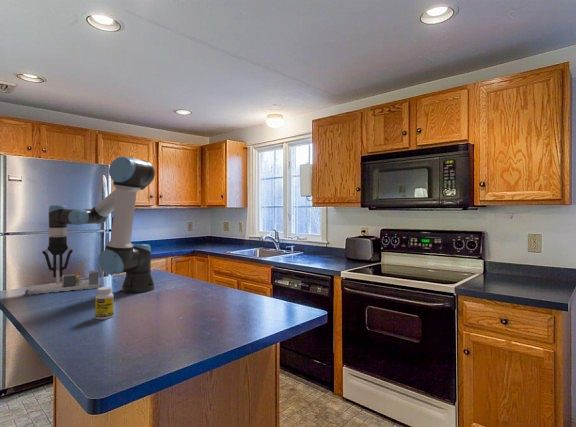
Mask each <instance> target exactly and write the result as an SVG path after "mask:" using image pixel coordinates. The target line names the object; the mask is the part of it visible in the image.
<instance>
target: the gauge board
mask: <svg viewBox="0 0 576 427" xmlns="http://www.w3.org/2000/svg"><path fill="white" fill-rule="evenodd" d="M88 277H89V279H88V280H79V282H76V285H75V286H62V282H60V284H56V282H53V283H51V282H50V283H45V284H33V285H30V287H29V289H28V291H27V294H28V296H31V295H30V294H35V295H40V294H39V293H45V294H50V293H49V292H55V293H60V292H59V291H65V292H71V291H70V290H75V291H83V289H85V290H91V289H92V290H93V289H94V288H95V289H98V288H101V287H102V284H101V281H100V279H99V271H98V269H97V270H96V269H95V270H89V271H88ZM95 289H94V290H95Z"/></svg>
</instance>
